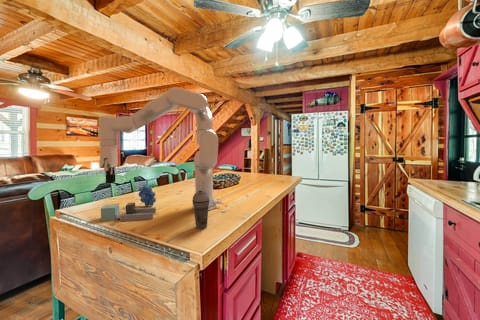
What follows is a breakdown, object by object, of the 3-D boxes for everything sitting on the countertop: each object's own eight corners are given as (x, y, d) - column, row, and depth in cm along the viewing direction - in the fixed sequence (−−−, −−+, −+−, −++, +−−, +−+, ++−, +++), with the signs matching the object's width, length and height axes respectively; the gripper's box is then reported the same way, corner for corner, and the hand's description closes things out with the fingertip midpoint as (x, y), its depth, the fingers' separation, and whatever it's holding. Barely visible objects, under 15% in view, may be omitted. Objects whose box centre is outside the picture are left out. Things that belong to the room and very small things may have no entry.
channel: (156, 212, 118) (155, 207, 117) (152, 218, 107) (152, 213, 107) (126, 214, 115) (126, 209, 114) (120, 221, 104) (120, 215, 104)
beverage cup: (193, 224, 100) (192, 179, 98) (210, 223, 101) (209, 178, 99) (191, 230, 93) (190, 182, 91) (209, 230, 93) (209, 181, 92)
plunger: (135, 214, 113) (135, 202, 112) (133, 217, 108) (132, 205, 108) (119, 215, 111) (118, 203, 111) (115, 218, 106) (115, 206, 106)
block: (119, 216, 112) (118, 204, 111) (115, 220, 106) (114, 207, 106) (106, 217, 111) (105, 205, 110) (101, 221, 105) (100, 208, 104)
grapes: (133, 207, 127) (132, 185, 126) (142, 204, 134) (141, 183, 133) (150, 209, 123) (149, 187, 122) (158, 205, 130) (158, 185, 129)
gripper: (106, 143, 113) (107, 180, 114) (93, 143, 97) (95, 185, 99) (122, 143, 114) (124, 179, 116) (112, 143, 99) (113, 185, 100)
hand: (110, 182), depth 107 cm, fingers closed
